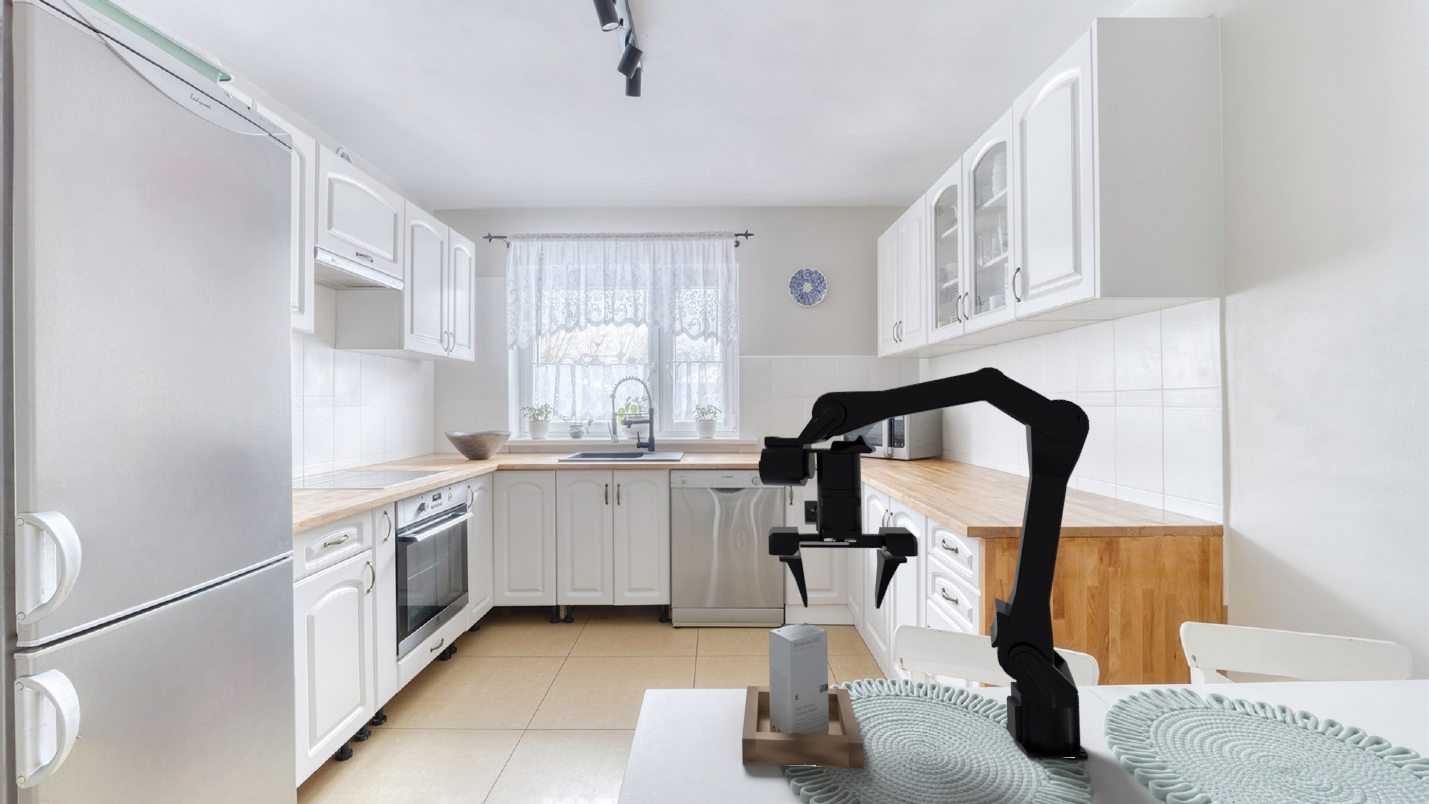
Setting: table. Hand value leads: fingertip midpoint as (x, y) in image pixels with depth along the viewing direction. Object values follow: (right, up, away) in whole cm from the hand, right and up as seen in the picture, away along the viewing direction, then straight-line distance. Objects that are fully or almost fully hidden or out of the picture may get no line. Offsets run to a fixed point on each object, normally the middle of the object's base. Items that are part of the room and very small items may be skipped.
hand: (841, 607), depth 78 cm
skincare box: (-6, -13, -7) cm, 16 cm away
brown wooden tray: (-6, -14, -7) cm, 16 cm away
